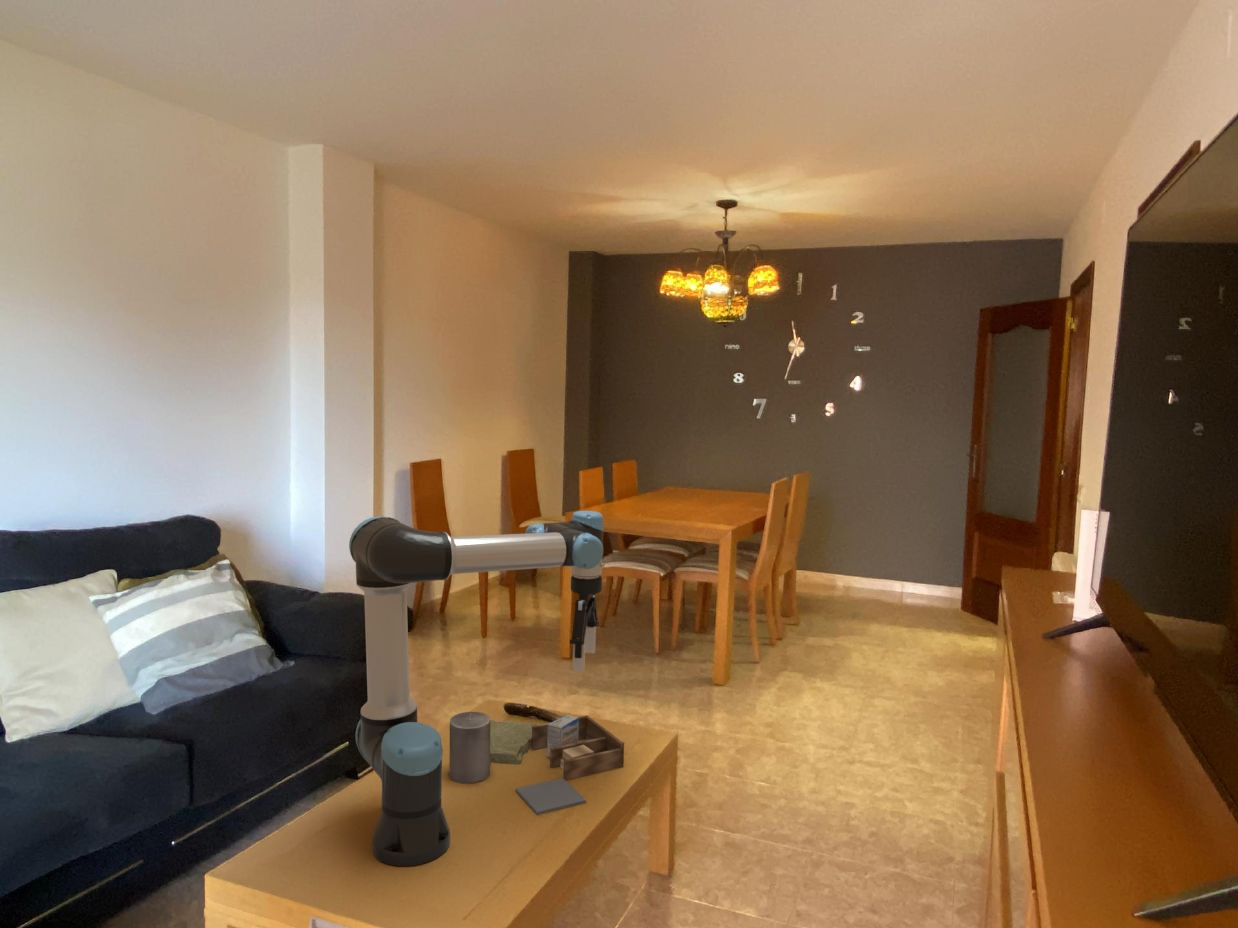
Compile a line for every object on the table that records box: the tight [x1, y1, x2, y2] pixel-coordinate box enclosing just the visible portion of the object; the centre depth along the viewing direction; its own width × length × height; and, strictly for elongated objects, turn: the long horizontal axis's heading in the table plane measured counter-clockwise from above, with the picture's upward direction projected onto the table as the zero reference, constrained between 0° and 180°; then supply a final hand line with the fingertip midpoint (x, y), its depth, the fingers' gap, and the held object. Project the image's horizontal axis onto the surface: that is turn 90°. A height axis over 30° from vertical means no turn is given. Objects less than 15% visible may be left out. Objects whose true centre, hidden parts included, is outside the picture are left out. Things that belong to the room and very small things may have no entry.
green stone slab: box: [490, 719, 538, 765], centre depth 216 cm, size 19×20×4 cm
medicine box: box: [546, 714, 579, 758], centre depth 212 cm, size 8×4×9 cm, turn 149°
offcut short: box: [562, 745, 594, 761], centre depth 204 cm, size 6×5×2 cm
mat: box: [515, 777, 587, 816], centre depth 190 cm, size 12×12×1 cm
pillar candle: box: [448, 711, 492, 784], centre depth 199 cm, size 10×10×15 cm
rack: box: [530, 714, 625, 781], centre depth 210 cm, size 16×20×6 cm
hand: (584, 661), depth 203 cm, fingers open, 13 cm apart
